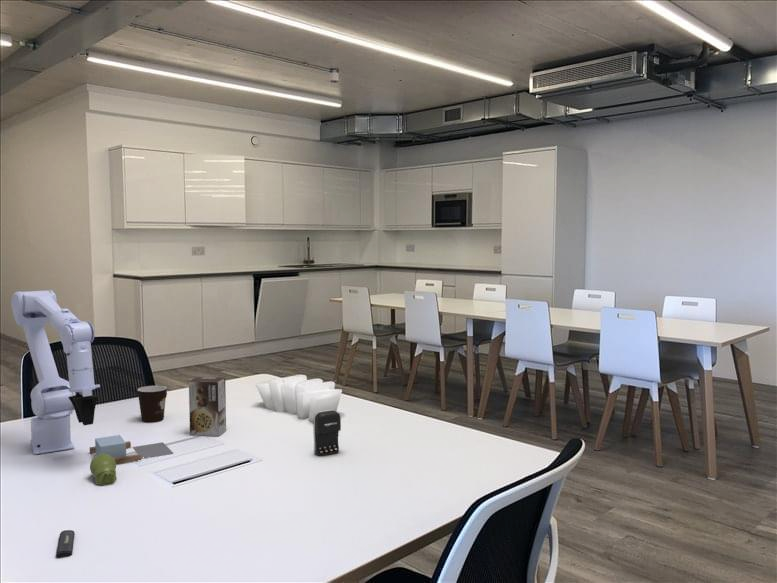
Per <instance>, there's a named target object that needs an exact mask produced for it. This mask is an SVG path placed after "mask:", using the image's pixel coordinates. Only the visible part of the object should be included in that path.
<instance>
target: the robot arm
mask: <svg viewBox="0 0 777 583" xmlns="http://www.w3.org/2000/svg"><path fill="white" fill-rule="evenodd" d="M57 300H58V299H57V295H56V293H55V292H54V291H53V290H51V289H47V290H33V291H32V290H31V291H30V290H29V291H28V290H27V291H15V292H14V293H13V294H12V296H11V306H10V307H11V311H12V314H13V318H14V320H15V322H16V325H18V326H20V327H22V328H23V332H24V336H25V340H26V342H27V345H28V349H29V353H30V356H31V360H32V363H33V367H34V370H35V373H36V377H37V380H38V383H37V384H36V385H35V386H34V387H33V388H32V390H31V392H30V399H31V405H30V406H31V410H32V412H33V414H34V415H35V416H36V417H33V418H31V419H30V432H31V433H30V434H31V435H30V436H31V438H30V447H31V449H32V453H33V454H34V455H40V454H47V453H53V452H60V451H65V450H73V449H75V446H74V444H73V442H72V440H71V439H72V438H71V415H73V412H75V416H76V419H77V421H78V423H80V424H81V423H82V425H83V427H85V426H90V425H93V424H94V420H95V410H96V406H97V402H98V400H99V397H100V396H99V394H96V395H94V393H93V392H92V391H93V390H95V389H97V388H101V384H95V377H94V376H95V374H94V365H93V364H94V363H93V355H92V354H93V353H92V345H91V344H92V343H93V341H94V340H95V329H94V326H93V324H92V323H91V322H90V321H89V320H84V321H81V320H80V318H78V317H77V316H76V315H75V314H73V312H72V311H70V309H68V308H61V307H60V305H59V304H58V301H57ZM47 324H50V325H51V327H52V328H53V329H54V330H55V331H56V332H57V333H58V334H59V338H60V342H61V344H62V347H63V352H64V353H65V354H66V363H67V365H66V366H67V372H68V380H66V379H65V378H61V377H60V376H59V372H58V369H57V366H56V365H57V364H56V362H55V360H54V356H53V353H52V349H51V346H50V342H49V339H48V335H47V333H46V328H45V326H46V325H47Z"/></svg>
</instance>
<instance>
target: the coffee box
mask: <svg viewBox="0 0 777 583" xmlns="http://www.w3.org/2000/svg"><path fill="white" fill-rule="evenodd" d="M188 400H189V401H188V405H189V410H188V411H189V413H188V414H189V436H201V437H203V436H204V437H206V436H207V437H220V436H221V435H223V434H224V433H225V432H227V407H226V406H227V401H226V400H227V397H226V377H224V376H223V377H222V376H221V377H218V376H217V377H215V376H196V377H194V378H192V379H191V380H189V381H188Z"/></svg>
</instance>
